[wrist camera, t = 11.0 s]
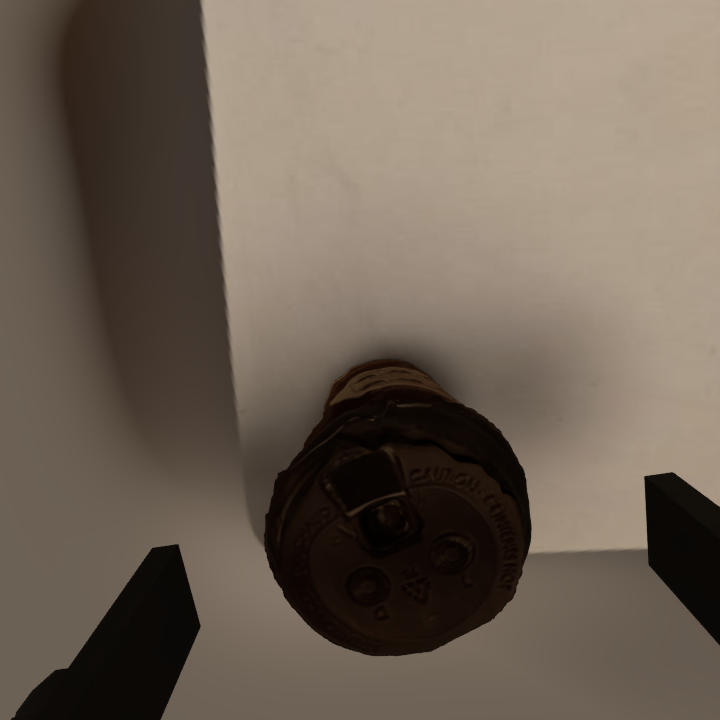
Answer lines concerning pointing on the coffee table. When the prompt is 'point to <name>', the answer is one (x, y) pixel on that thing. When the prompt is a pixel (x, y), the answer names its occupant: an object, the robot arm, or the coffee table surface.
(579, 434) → the coffee table surface
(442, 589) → the coffee cup
